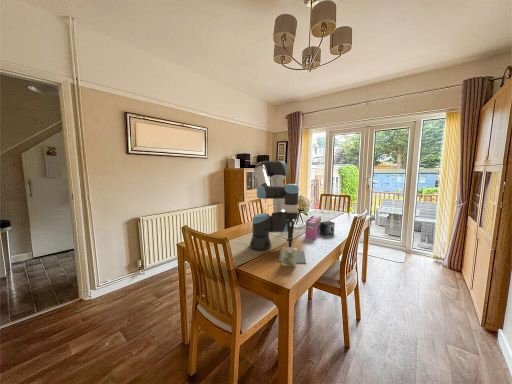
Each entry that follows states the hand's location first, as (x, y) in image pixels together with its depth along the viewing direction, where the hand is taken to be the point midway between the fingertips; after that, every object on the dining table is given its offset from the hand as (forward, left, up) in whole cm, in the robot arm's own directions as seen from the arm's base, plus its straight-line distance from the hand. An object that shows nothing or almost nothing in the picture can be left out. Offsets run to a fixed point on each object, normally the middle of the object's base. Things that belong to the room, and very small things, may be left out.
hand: (289, 247), depth 123 cm
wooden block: (0, 0, -11) cm, 11 cm away
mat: (+2, +12, -11) cm, 16 cm away
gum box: (+20, +60, -11) cm, 64 cm away
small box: (+32, +63, -11) cm, 72 cm away
